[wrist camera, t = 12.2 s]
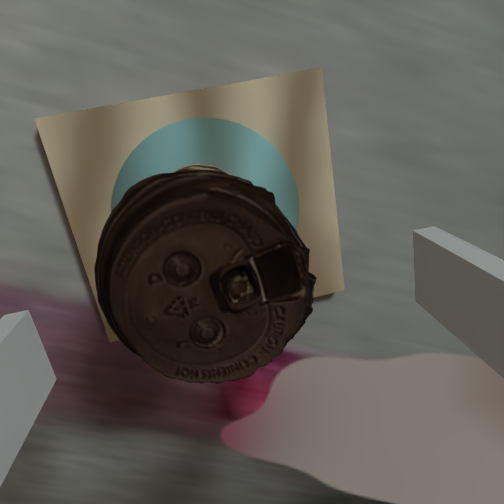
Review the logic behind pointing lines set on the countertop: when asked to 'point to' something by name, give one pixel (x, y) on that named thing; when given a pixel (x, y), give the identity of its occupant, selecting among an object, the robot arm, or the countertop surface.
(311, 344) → the countertop surface
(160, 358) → the coffee cup
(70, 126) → the oak board
